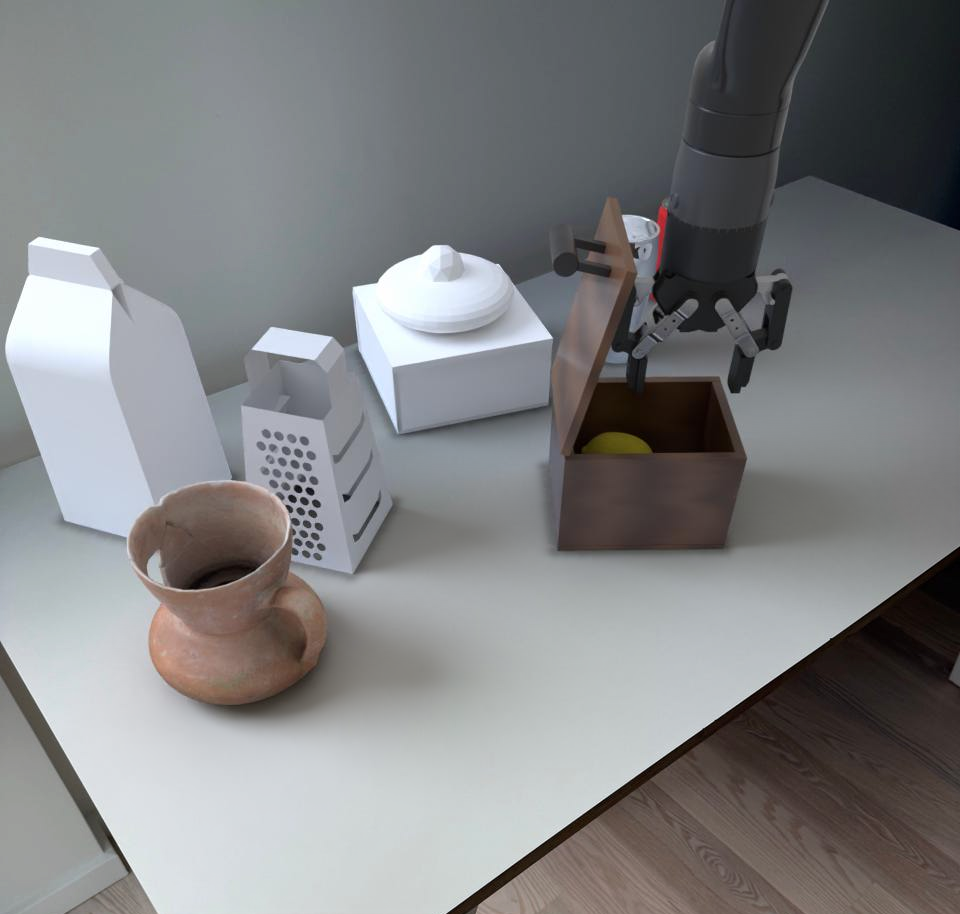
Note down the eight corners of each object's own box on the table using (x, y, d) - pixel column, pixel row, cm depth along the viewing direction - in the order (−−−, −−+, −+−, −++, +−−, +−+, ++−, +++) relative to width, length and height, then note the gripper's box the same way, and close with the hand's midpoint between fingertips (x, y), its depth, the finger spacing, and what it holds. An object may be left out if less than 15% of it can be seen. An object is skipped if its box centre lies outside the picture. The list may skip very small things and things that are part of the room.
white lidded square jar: (497, 330, 114) (499, 199, 103) (549, 409, 103) (558, 273, 91) (359, 354, 111) (344, 221, 99) (398, 439, 99) (386, 301, 88)
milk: (65, 523, 90) (-48, 266, 71) (133, 455, 98) (47, 205, 78) (171, 551, 88) (82, 292, 68) (233, 479, 95) (168, 227, 76)
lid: (617, 198, 76) (553, 183, 75) (637, 273, 67) (566, 257, 66) (559, 373, 88) (503, 362, 87) (569, 456, 79) (508, 445, 78)
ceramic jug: (112, 668, 78) (54, 543, 67) (230, 568, 86) (195, 442, 75) (274, 764, 71) (238, 643, 61) (385, 646, 80) (371, 521, 69)
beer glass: (574, 352, 111) (584, 228, 100) (609, 330, 114) (623, 208, 103) (620, 374, 108) (636, 248, 97) (655, 351, 111) (674, 226, 100)
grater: (353, 576, 85) (326, 388, 70) (250, 554, 87) (203, 366, 73) (393, 506, 92) (376, 321, 77) (296, 486, 94) (262, 302, 79)
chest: (699, 467, 96) (719, 375, 88) (722, 551, 88) (747, 458, 79) (548, 469, 96) (554, 377, 88) (556, 553, 87) (564, 460, 79)
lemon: (652, 505, 89) (573, 482, 89) (646, 493, 94) (571, 472, 94) (672, 450, 87) (591, 426, 87) (664, 441, 92) (588, 419, 92)
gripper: (800, 181, 72) (755, 365, 84) (619, 183, 72) (599, 367, 84) (826, 223, 67) (774, 413, 79) (631, 226, 67) (608, 415, 79)
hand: (684, 389), depth 82 cm, fingers open, 8 cm apart
